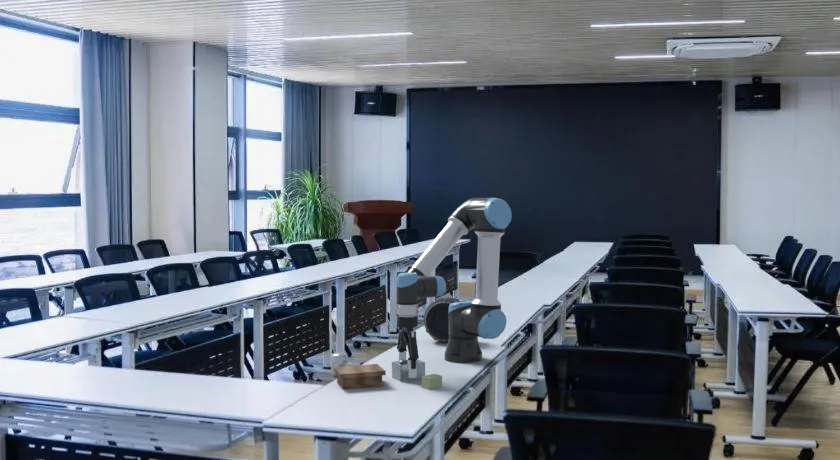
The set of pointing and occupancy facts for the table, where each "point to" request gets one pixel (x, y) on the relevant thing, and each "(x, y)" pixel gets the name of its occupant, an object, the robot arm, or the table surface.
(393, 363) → the housing
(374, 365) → the walnut stand
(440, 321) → the dark grey drum
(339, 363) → the grey metal can
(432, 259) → the robot arm
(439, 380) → the olive painted block
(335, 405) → the table surface
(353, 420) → the table surface
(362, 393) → the table surface
